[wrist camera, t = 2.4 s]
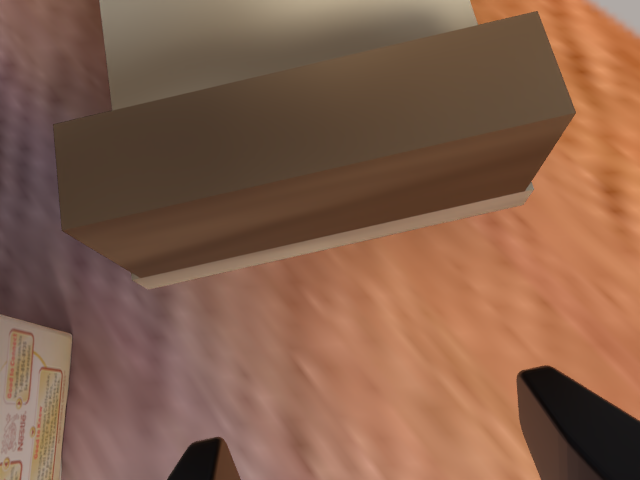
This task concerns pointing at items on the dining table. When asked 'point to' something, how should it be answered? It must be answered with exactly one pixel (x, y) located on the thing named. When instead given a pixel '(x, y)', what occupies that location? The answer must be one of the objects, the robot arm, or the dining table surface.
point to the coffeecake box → (32, 399)
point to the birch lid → (301, 128)
